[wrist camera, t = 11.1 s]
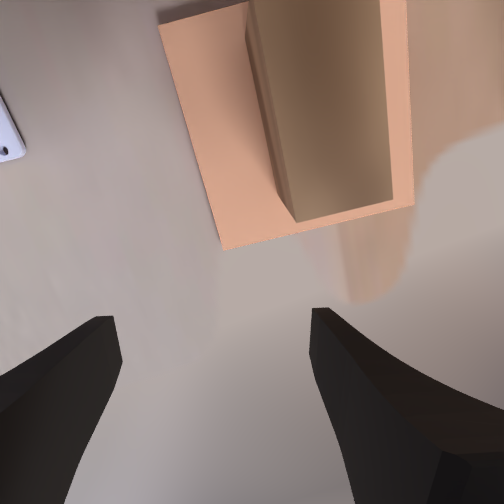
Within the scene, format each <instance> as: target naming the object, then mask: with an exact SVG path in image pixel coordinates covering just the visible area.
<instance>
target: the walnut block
mask: <svg viewBox="0 0 504 504" xmlns="http://www.w3.org/2000/svg"><path fill="white" fill-rule="evenodd" d="M245 41H246V46H247V51H248V56H249V61H250V65H251V70H252V75H253V80H254V84H255V89H256V94H257V99H258V103H259V108H260V113H261V118H262V123H263V127H264V132H265V137H266V142H267V146H268V151H269V156H270V161H271V166H272V170H273V175H274V180H275V185H276V189H277V194H278V196H279V198H280V199H281V201H282V202H283V204H284V205H285V207H286V208H287V210H288V211H289V213H290V214H291V216H292V217H293V219H294V220H295V222H296V223H299V222H303V221H308V220H312V219H316V218H320V217H324V216H328V215H332V214H336V213H340V212H344V211H348V210H353V209H357V208H361V207H365V206H369V205H373V204H377V203H381V202H385V201H389V200H393V187H392V173H391V158H390V144H389V129H388V115H387V100H386V86H385V71H384V57H383V42H382V28H381V13H380V0H249V2H248V12H247V21H246V31H245Z"/></svg>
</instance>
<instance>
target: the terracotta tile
mask: <svg viewBox="0 0 504 504" xmlns="http://www.w3.org/2000/svg"><path fill="white" fill-rule="evenodd" d="M248 2H249V1H246V2H243V3H239V4H235V5H232V6H228V7H224V8H221V9H217V10H213V11H210V12H206V13H202V14H199V15H195V16H191V17H188V18H184V19H180V20H177V21H173V22H169V23H166V24H162V25H158V29H159V32H160V36H161V39H162V42H163V46H164V49H165V53H166V56H167V59H168V63H169V66H170V70H171V73H172V76H173V80H174V83H175V87H176V90H177V93H178V97H179V100H180V104H181V107H182V111H183V114H184V117H185V121H186V124H187V128H188V131H189V134H190V138H191V141H192V145H193V148H194V151H195V155H196V158H197V162H198V165H199V169H200V172H201V175H202V179H203V182H204V186H205V189H206V192H207V196H208V199H209V203H210V206H211V209H212V213H213V216H214V220H215V223H216V226H217V230H218V233H219V237H220V240H221V244H222V247H223V250H228V249H232V248H236V247H241V246H245V245H249V244H253V243H257V242H261V241H265V240H269V239H273V238H278V237H282V236H286V235H290V234H294V233H298V232H303V231H307V230H311V229H315V228H319V227H323V226H327V225H332V224H336V223H340V222H344V221H348V220H352V219H356V218H361V217H365V216H369V215H373V214H377V213H381V212H385V211H389V210H394V209H398V208H402V207H406V206H410V205H414V180H413V156H412V132H411V108H410V84H409V60H408V36H407V12H406V0H380V13H381V28H382V42H383V57H384V71H385V86H386V100H387V115H388V129H389V144H390V158H391V173H392V187H393V200H389V201H385V202H381V203H377V204H373V205H369V206H365V207H361V208H357V209H353V210H348V211H344V212H340V213H336V214H332V215H328V216H324V217H320V218H316V219H312V220H308V221H303V222H299V223H296V222H295V220H294V219H293V217H292V216H291V214H290V213H289V211H288V210H287V208H286V207H285V205H284V204H283V202H282V201H281V199H280V198H279V196H278V194H277V189H276V185H275V180H274V175H273V170H272V166H271V161H270V156H269V151H268V146H267V142H266V137H265V132H264V127H263V123H262V118H261V113H260V108H259V103H258V99H257V94H256V89H255V84H254V80H253V75H252V70H251V65H250V61H249V56H248V51H247V46H246V41H245V31H246V21H247V12H248Z"/></svg>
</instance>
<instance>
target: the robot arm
mask: <svg viewBox="0 0 504 504" xmlns="http://www.w3.org/2000/svg"><path fill="white" fill-rule="evenodd" d="M4 146H5V147H6V148H7V149H8V152H9V153H8V155H7V154H5V152H4V151H3V147H4ZM25 153H26V148H25V145H24V143H23V141H22V139H21V137H20V135H19V133H18V131H17V129H16V127H15V125H14V123H13V121H12V118H11V116H10V114H9V112H8V110H7V108H6V106H5V104H4V102H3V100H2V98H1V96H0V163H1V162H5V161H8V160H12V159H16V158H20V157H22V156H24V155H25ZM309 355H310V359H311V364H312V368H313V373H314V376H315V380H316V383H317V385H318V388H319V391H320V394H321V396H322V399H323V402H324V404H325V407H326V410H327V413H328V415H329V418H330V421H331V423H332V426H333V429H334V431H335V434H336V437H337V440H338V443H339V446H340V449H341V452H342V456H343V459H344V463H345V467H346V470H347V474H348V478H349V481H350V485H351V489H352V493H353V497H354V501H355V504H504V410H502V409H500V408H497V407H495V406H492V405H490V404H487V403H485V402H483V401H480V400H478V399H475V398H473V397H471V396H468V395H466V394H464V393H462V392H459V391H457V390H455V389H453V388H451V387H449V386H447V385H444V384H442V383H441V382H439V381H436V380H434V379H432V378H431V377H429V376H427V375H425V374H423V373H421V372H419V371H418V370H416V369H414V368H412V367H410V366H409V365H407V364H405V363H404V362H402V361H400V360H399V359H397V358H396V357H394V356H392V355H391V354H389V353H388V352H387V351H385V350H383V349H382V348H381V347H379V346H378V345H376V344H375V343H374V342H372V341H371V340H369V339H368V338H366V337H365V336H364V335H363V334H361V333H360V332H359V331H358V330H356V329H355V328H354V327H352V326H351V325H350V324H349V323H347V322H346V321H345V320H344V319H343V318H341V317H340V316H339V315H338V314H336V313H335V312H334V311H332V310H331V309H330V308H312V319H311V335H310V348H309ZM122 362H123V361H122V356H121V351H120V346H119V342H118V337H117V332H116V327H115V322H114V317H113V316H96V317H94V318H92V319H90V320H89V321H87V322H85V323H84V324H82V325H81V326H79V327H78V328H76V329H75V330H73V331H72V332H70V333H69V334H67V335H66V336H64V337H63V338H61V339H59V340H58V341H56V342H55V343H53V344H52V345H50V346H49V347H47V348H46V349H44V350H43V351H41V352H39V353H38V354H36V355H35V356H33V357H31V358H30V359H28V360H26V361H25V362H23V363H22V364H20V365H18V366H17V367H15V368H13V369H12V370H10V371H8V372H6V373H5V374H3V375H1V376H0V504H64V502H65V499H66V496H67V494H68V491H69V488H70V485H71V483H72V480H73V477H74V475H75V472H76V469H77V467H78V464H79V462H80V460H81V457H82V455H83V453H84V451H85V448H86V446H87V444H88V442H89V440H90V438H91V436H92V434H93V432H94V430H95V428H96V425H97V424H98V422H99V419H100V417H101V415H102V413H103V411H104V409H105V406H106V405H107V403H108V401H109V398H110V396H111V394H112V392H113V390H114V387H115V384H116V381H117V378H118V375H119V372H120V369H121V366H122Z"/></svg>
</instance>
